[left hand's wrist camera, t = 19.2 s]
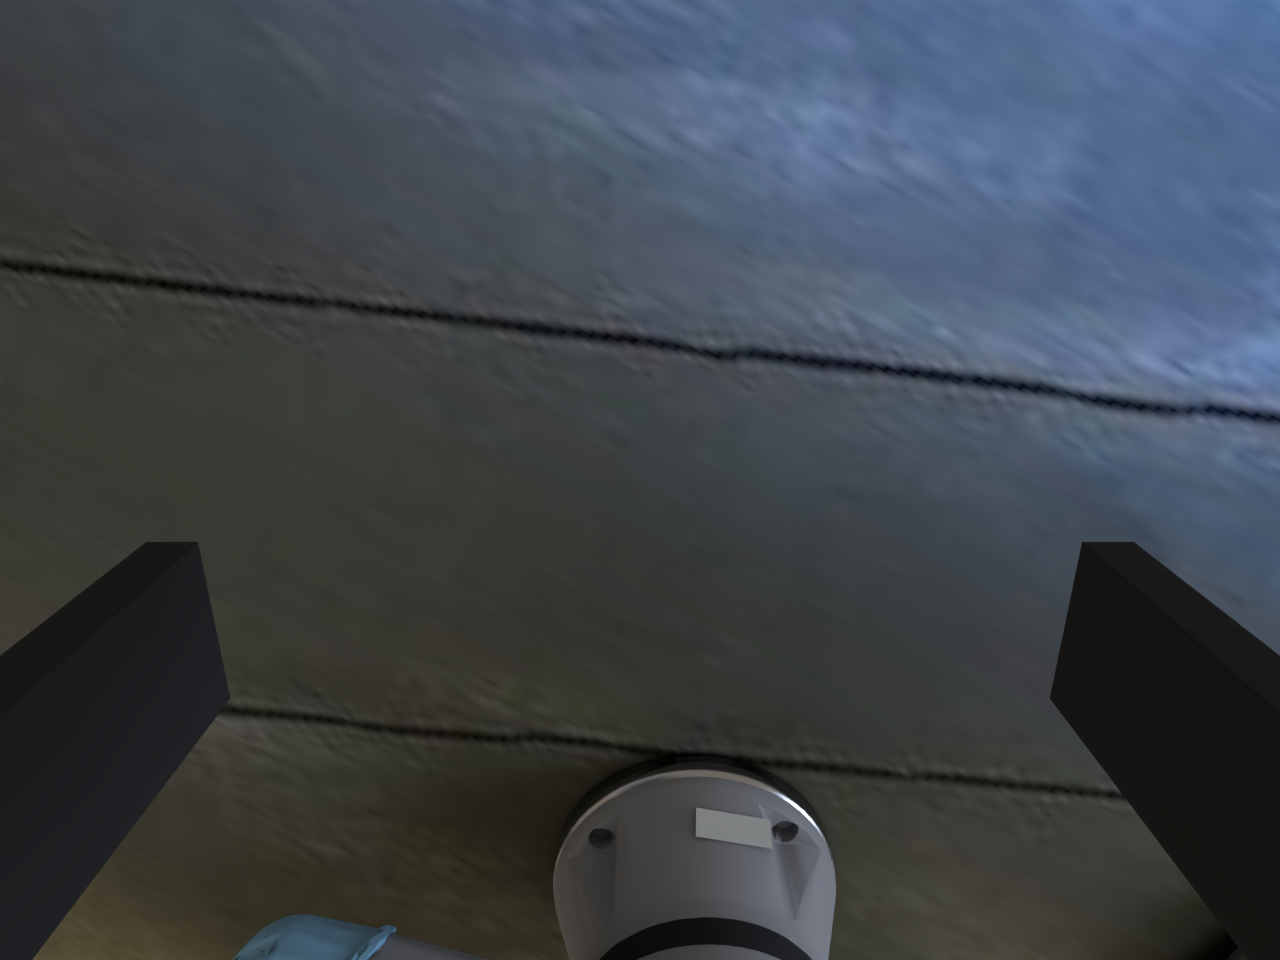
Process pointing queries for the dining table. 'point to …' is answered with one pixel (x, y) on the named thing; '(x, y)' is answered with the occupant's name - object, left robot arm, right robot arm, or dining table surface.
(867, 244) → the dining table surface
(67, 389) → the dining table surface
